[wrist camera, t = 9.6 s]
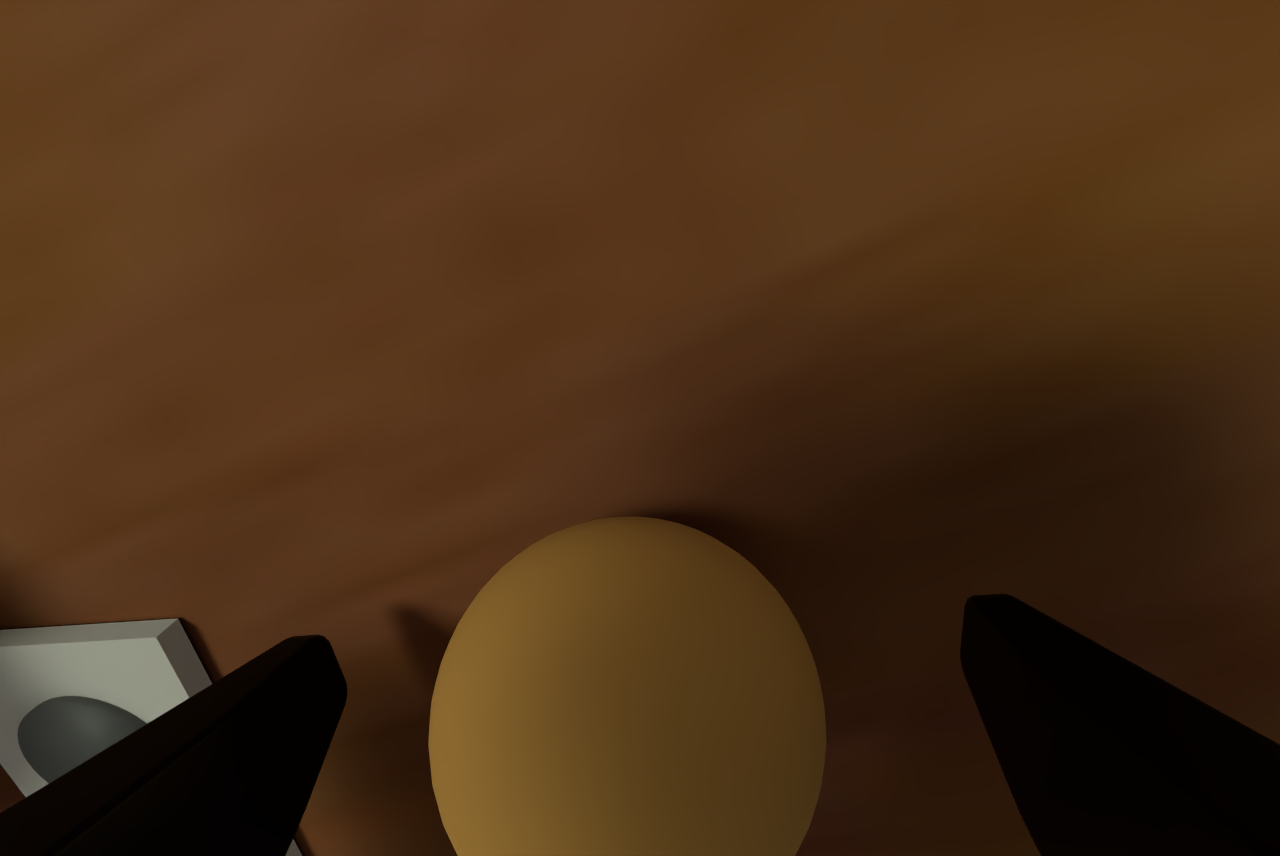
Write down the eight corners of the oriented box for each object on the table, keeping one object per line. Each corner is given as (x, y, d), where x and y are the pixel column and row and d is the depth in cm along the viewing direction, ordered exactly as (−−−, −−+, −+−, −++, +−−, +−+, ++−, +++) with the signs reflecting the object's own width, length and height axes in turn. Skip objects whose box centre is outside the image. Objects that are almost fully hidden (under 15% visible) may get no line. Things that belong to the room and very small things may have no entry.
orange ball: (792, 690, 9) (877, 1069, 5) (528, 702, 9) (423, 1058, 5) (782, 441, 7) (893, 717, 3) (466, 470, 8) (261, 742, 4)
